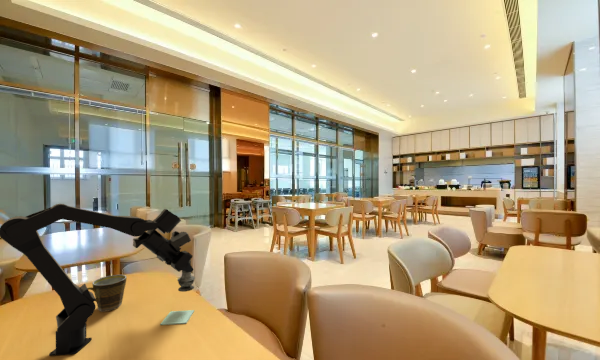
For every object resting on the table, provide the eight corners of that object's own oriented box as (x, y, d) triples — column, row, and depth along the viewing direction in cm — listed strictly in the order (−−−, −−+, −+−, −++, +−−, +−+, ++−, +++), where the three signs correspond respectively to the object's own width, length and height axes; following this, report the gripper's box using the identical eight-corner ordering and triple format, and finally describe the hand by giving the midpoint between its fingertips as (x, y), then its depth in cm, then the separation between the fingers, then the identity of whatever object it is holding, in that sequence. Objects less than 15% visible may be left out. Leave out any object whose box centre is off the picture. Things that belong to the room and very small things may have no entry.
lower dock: (186, 323, 82) (186, 322, 82) (160, 325, 81) (160, 324, 81) (194, 310, 90) (194, 310, 90) (170, 312, 89) (170, 311, 89)
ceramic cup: (118, 298, 100) (118, 272, 100) (132, 304, 95) (131, 277, 95) (76, 313, 89) (76, 284, 89) (89, 321, 84) (89, 290, 84)
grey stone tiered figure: (187, 293, 89) (187, 258, 89) (173, 290, 91) (174, 256, 91) (198, 286, 95) (198, 254, 95) (185, 284, 97) (185, 252, 97)
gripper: (186, 228, 84) (217, 256, 92) (166, 222, 97) (194, 246, 105) (160, 257, 78) (195, 284, 86) (142, 247, 91) (174, 270, 99)
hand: (190, 269), depth 94 cm, fingers closed on grey stone tiered figure, 4 cm apart
